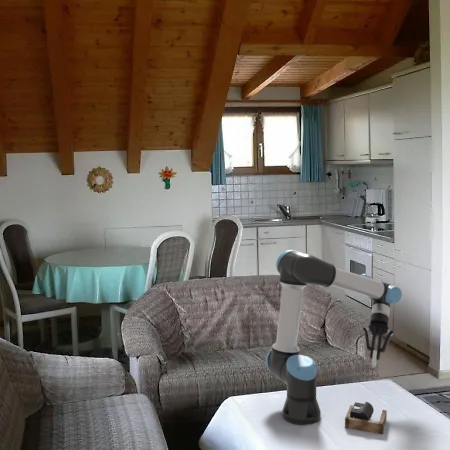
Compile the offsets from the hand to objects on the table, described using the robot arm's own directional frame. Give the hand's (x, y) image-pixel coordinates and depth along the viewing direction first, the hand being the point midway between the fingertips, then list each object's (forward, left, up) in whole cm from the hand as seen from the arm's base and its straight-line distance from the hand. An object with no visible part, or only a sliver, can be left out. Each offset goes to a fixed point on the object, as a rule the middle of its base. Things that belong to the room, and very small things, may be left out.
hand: (373, 366), depth 238 cm
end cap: (-2, -19, -16) cm, 25 cm away
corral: (0, -20, -16) cm, 26 cm away
